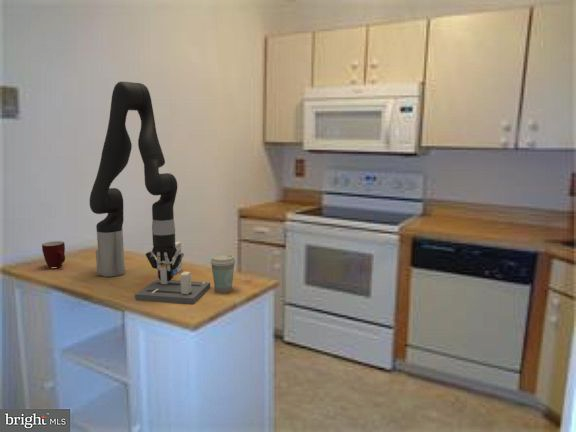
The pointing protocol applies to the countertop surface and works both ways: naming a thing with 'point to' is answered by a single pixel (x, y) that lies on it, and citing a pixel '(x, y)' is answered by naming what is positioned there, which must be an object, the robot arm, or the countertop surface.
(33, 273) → the countertop surface
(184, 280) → the fader
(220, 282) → the coffee cup
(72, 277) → the countertop surface
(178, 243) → the ink box
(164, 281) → the fader
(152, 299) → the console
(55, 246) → the mug
